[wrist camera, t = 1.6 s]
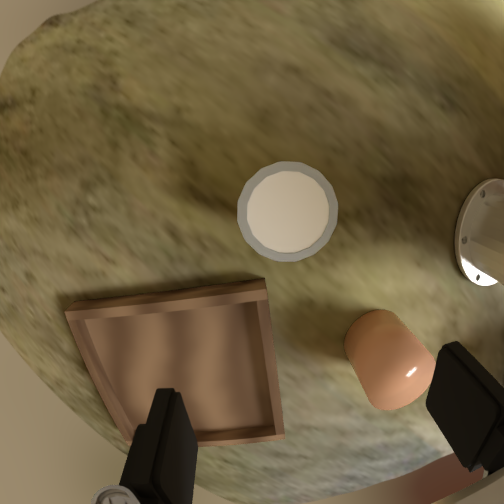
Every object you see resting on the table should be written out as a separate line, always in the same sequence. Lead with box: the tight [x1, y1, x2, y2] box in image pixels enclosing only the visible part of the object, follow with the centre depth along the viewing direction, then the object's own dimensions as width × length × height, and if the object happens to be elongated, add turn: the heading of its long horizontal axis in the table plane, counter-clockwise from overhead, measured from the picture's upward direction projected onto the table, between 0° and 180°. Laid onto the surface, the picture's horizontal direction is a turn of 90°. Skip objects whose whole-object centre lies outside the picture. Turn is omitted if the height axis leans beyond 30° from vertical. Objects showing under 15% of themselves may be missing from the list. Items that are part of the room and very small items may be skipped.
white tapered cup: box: [237, 161, 338, 262], centre depth 24 cm, size 7×7×7 cm
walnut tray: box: [64, 278, 285, 447], centre depth 31 cm, size 20×20×2 cm
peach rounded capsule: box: [344, 310, 436, 410], centre depth 28 cm, size 7×7×8 cm
